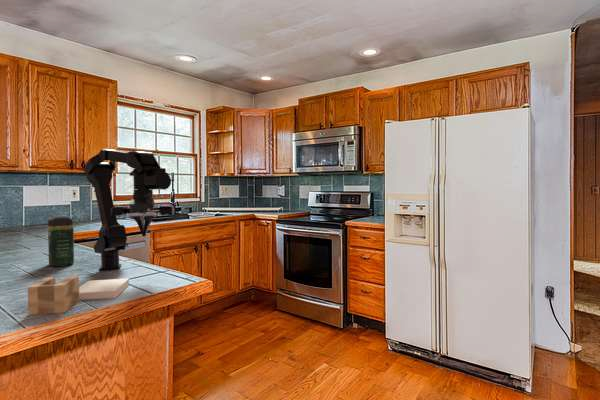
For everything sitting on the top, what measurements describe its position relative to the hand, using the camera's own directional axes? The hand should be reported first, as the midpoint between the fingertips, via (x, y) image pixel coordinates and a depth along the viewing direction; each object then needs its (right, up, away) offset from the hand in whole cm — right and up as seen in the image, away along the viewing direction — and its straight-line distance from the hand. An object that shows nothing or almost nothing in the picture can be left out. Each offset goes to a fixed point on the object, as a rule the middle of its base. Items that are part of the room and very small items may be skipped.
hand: (144, 236), depth 115 cm
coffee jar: (-39, -13, +16) cm, 44 cm away
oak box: (-8, -14, -30) cm, 35 cm away
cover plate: (-9, -13, -19) cm, 25 cm away
